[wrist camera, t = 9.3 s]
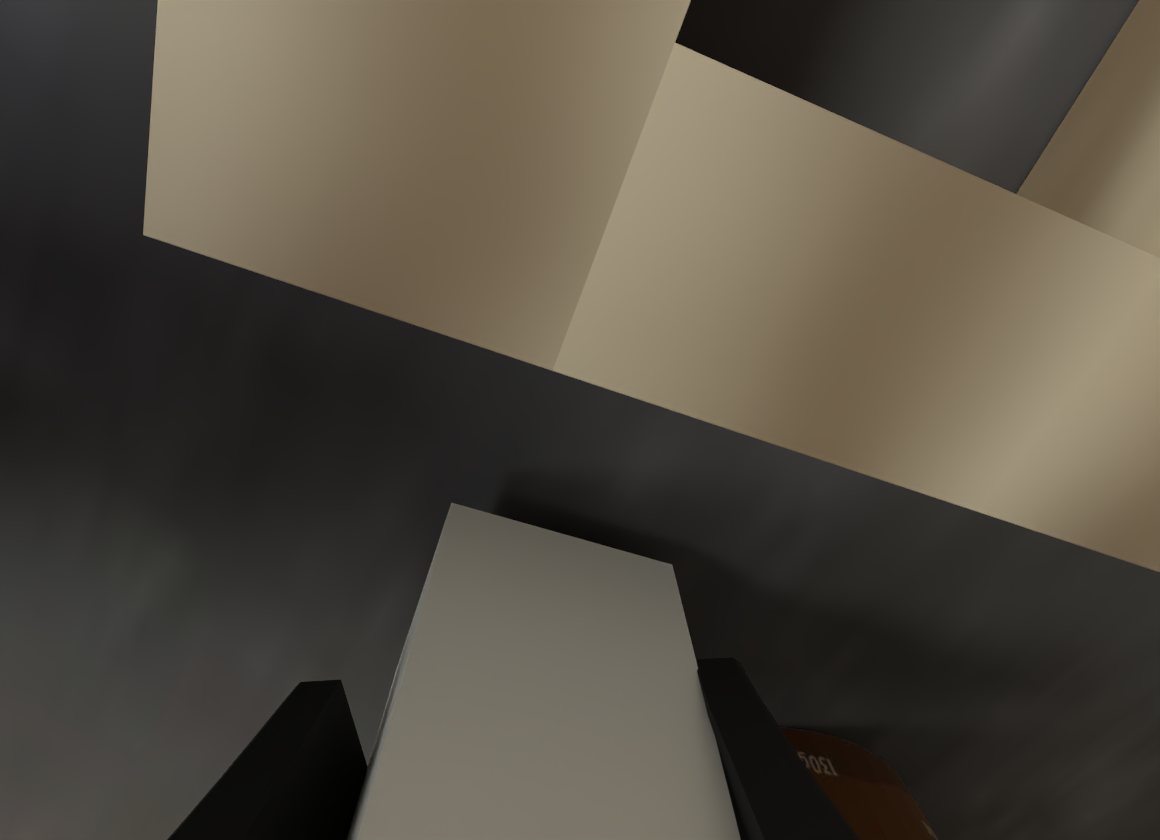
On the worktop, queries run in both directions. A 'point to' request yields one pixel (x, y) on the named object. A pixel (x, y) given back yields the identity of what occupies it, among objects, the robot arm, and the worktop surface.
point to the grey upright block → (544, 699)
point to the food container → (861, 787)
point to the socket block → (695, 235)
